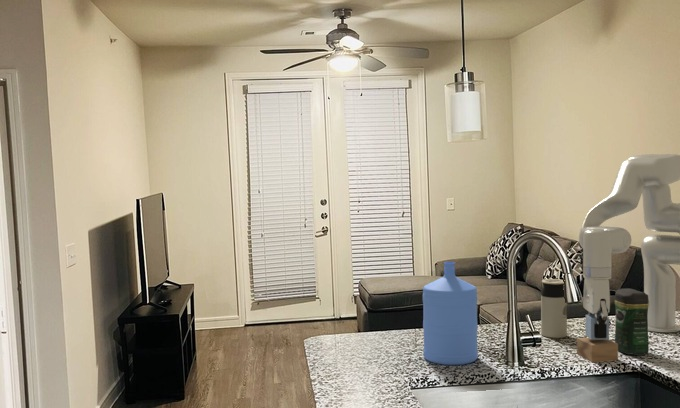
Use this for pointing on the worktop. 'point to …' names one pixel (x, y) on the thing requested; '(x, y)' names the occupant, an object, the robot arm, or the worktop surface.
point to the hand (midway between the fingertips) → (597, 334)
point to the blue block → (590, 326)
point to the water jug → (450, 320)
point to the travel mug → (553, 309)
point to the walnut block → (597, 349)
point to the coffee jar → (631, 321)
